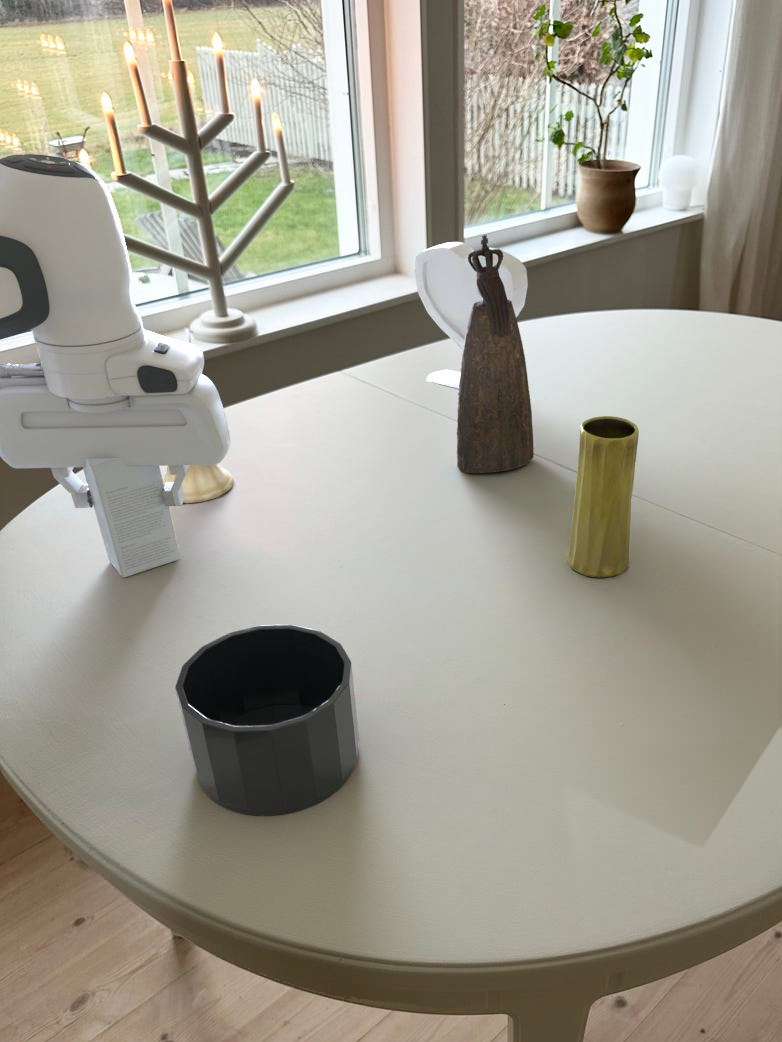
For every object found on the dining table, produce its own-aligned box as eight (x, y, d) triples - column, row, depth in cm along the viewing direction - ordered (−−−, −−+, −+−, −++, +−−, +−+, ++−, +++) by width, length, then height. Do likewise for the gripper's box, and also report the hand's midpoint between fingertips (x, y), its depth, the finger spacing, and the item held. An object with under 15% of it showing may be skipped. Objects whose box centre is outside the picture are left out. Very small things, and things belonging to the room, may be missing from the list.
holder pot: (181, 818, 67) (158, 733, 62) (213, 707, 76) (195, 626, 72) (353, 813, 67) (344, 728, 62) (363, 704, 77) (355, 622, 72)
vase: (614, 585, 91) (628, 446, 83) (556, 568, 94) (564, 432, 85) (638, 556, 95) (653, 421, 87) (582, 541, 98) (591, 409, 89)
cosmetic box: (165, 542, 97) (141, 433, 90) (181, 560, 95) (157, 448, 88) (106, 561, 95) (76, 449, 87) (121, 579, 92) (91, 466, 85)
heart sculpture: (415, 377, 135) (409, 243, 124) (436, 367, 138) (432, 235, 127) (507, 401, 128) (510, 261, 117) (527, 389, 131) (532, 252, 120)
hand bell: (148, 503, 104) (115, 359, 95) (170, 469, 111) (142, 332, 102) (223, 504, 104) (198, 361, 95) (241, 470, 111) (219, 333, 101)
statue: (485, 443, 117) (486, 226, 102) (540, 456, 114) (549, 235, 99) (448, 470, 111) (444, 244, 96) (505, 485, 108) (510, 254, 93)
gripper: (-40, 377, 80) (8, 523, 88) (206, 374, 81) (231, 518, 89) (-12, 351, 85) (31, 491, 93) (219, 348, 86) (242, 487, 94)
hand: (131, 504), depth 91 cm, fingers closed on cosmetic box, 7 cm apart
